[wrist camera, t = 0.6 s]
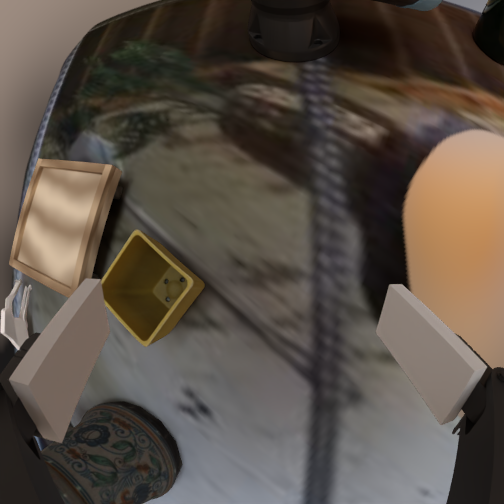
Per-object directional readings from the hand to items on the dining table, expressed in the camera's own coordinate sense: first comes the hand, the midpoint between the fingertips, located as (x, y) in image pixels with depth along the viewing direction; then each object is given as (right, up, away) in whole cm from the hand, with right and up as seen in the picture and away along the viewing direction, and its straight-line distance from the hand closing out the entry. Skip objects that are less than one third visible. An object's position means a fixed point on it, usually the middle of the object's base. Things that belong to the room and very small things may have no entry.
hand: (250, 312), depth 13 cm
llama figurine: (-39, -12, +28) cm, 49 cm away
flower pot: (-10, -2, +25) cm, 26 cm away
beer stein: (-19, -27, +23) cm, 40 cm away
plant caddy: (-28, +6, +29) cm, 40 cm away
